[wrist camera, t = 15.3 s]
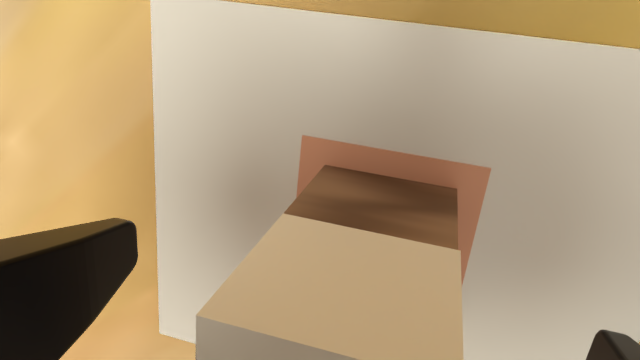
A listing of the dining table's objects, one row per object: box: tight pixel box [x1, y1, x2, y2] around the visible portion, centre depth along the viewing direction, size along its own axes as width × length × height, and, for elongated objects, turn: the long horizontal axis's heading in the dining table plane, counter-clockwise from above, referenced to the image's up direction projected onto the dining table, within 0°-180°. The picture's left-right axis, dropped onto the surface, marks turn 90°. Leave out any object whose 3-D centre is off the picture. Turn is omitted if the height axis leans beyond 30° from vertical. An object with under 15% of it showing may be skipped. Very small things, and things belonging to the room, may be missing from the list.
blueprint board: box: [150, 0, 640, 360], centre depth 19 cm, size 20×16×1 cm
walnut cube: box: [284, 165, 458, 250], centre depth 16 cm, size 5×5×5 cm
